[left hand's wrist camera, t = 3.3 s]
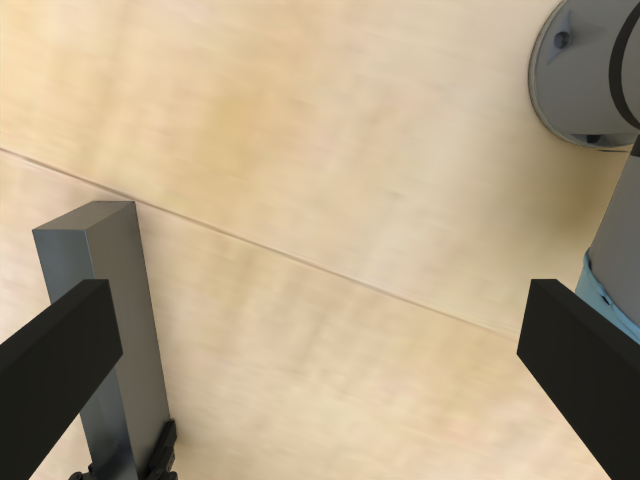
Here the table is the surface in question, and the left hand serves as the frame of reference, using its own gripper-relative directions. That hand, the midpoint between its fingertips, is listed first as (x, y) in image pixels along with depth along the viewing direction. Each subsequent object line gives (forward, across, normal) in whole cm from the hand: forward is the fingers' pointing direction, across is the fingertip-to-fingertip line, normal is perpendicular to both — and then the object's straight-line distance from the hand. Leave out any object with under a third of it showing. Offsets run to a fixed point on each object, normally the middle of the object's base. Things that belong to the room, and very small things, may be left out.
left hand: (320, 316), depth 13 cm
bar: (+30, -22, -21) cm, 43 cm away
